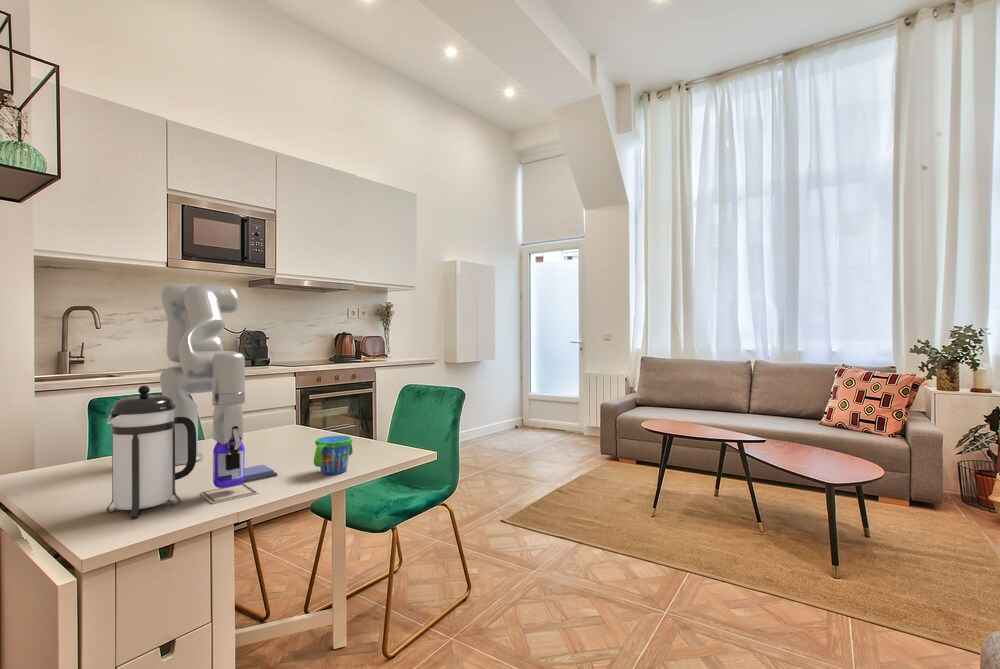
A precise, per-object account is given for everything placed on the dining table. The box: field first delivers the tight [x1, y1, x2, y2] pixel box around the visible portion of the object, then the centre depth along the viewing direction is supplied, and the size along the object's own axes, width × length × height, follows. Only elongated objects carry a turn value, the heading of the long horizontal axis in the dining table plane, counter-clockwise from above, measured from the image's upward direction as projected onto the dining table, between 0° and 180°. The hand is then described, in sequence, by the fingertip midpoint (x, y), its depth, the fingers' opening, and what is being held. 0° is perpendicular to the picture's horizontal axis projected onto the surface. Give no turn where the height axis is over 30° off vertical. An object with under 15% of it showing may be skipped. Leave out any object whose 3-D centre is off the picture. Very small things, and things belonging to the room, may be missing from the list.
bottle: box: [212, 436, 245, 489], centre depth 127 cm, size 7×6×17 cm
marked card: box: [199, 482, 259, 505], centre depth 127 cm, size 11×11×1 cm
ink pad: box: [241, 464, 278, 484], centre depth 143 cm, size 10×10×2 cm
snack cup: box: [313, 435, 353, 475], centre depth 147 cm, size 16×10×10 cm
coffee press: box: [105, 385, 197, 520], centre depth 118 cm, size 17×16×30 cm
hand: (229, 466), depth 128 cm, fingers closed on bottle, 5 cm apart
